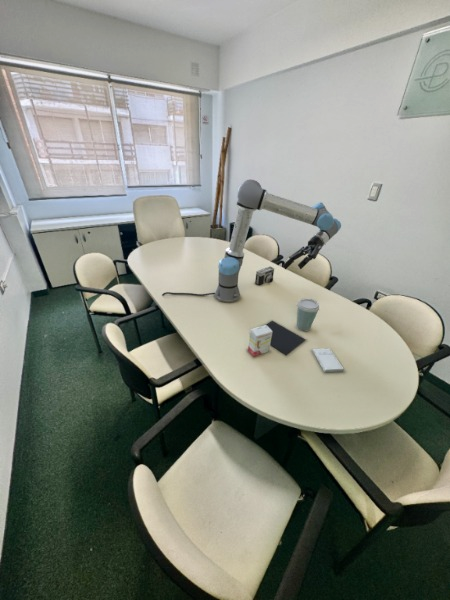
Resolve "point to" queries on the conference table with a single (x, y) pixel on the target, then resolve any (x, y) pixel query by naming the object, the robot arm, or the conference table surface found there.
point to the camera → (264, 276)
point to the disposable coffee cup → (306, 313)
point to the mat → (283, 338)
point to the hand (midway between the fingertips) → (291, 267)
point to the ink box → (260, 340)
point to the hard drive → (328, 360)
